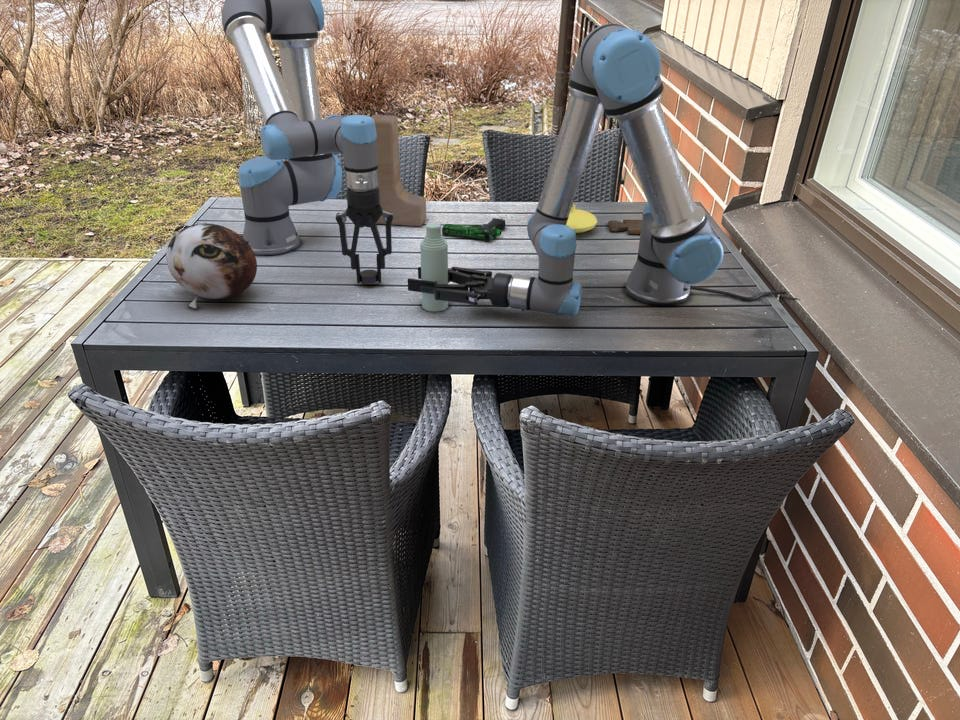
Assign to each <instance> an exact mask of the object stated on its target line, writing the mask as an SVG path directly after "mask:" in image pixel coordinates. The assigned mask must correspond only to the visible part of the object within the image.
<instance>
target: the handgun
mask: <svg viewBox="0 0 960 720" xmlns="http://www.w3.org/2000/svg"><path fill="white" fill-rule="evenodd" d="M505 228H506V220H505V219H503V218H497V217H492V219H491V220H490V221H489V222H488V223H483V224H482V225H479V224H472V225H459V224H453V223H445V224H443V226H441V235H446V236H454V237H462V238H469V239H470V238H471V239H474V240H479V241H484V242H491V241H492V240H494V239H495V238H497V237H500V236H502V230H504V229H505Z"/></svg>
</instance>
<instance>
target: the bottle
mask: <svg viewBox="0 0 960 720" xmlns="http://www.w3.org/2000/svg"><path fill="white" fill-rule="evenodd" d="M425 232H426V233H425V236H424V237H423V239H422V240H421V242H420V245H419V248H420V249H419V252H420V267H421V279H420V280H425V281H432V282H435V281H437V284H449V283H448V269H449V254H448V253H449V252H448V248H449V246H448V242H447V240H446V239H445V238H444V237H443V234H442V224H441V223H439V222H428V223H427V224H425ZM421 307H422V308H423V309H424V310H425V311H428V312H442V311H445V310H447V309H448V308H449V301H441V300H435V295H434V294H429V293H422V292H421Z"/></svg>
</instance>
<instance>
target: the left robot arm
mask: <svg viewBox="0 0 960 720" xmlns="http://www.w3.org/2000/svg"><path fill="white" fill-rule="evenodd" d="M221 9H222V10H221V25H222V29H223V33H224V35H225V38H226V40H227V42H228V43H229V45H231V46H233V47H234V49H235V51H236V54H237V56H238V59H239V61H240V64H241V67H242V70H243V72H244V75H245V78H246V79H247V82H248V85H249V87H250V89H251V92H252V94H253V97H254V100H255V102H256V105H257V107H258V110H259V112H260V114H261V115H260V116H261V118H262V121H263V123H264V125H263V126H262V127H261V128H260V131H259V136H260V137H259V138H260V143H261V146H262V151H263V154H264V155H262V156H258V157H253V158H251V159H248V160H245V161H244V162H243V163H241V165H240V166H239V167H238V170H237V174H238V186H239V190H240V196H241V201H242V208H243V212H244V213H243V215H244V219H245V220H244V226H243V228H244V229H243V234H242V235H241V234H239V235H240V236H241V237H243V238H244V239H245V240H246V241H249V242H248V244H249V245H250V247H251V248H252V250H253V252H254V254H255V256H256V255H257V256H275V255H281V254H282V255H283V254H285V253H289V252H291V251H293V250H296V249H297V248H298V247H299V246H300V244H301V241H300V235H299V233H298V231H297V229H296V227H295V225H294V223H293V220H292V218H291V216H290V206H296V205H303V204H309V203H316V202H325V201H326V200H333V199H335V198H336V197H338V196H339V194H340V192H341V190H342V186H343V169H344V179H345V181H344V182H345V187H346V190H345V192H346V204H347V205H346V206H347V207H346V208H345V211H343V212H337V213H336V215H335V221H336V223H337V225H338V228H339V238H340V247H341V254H342V256H343V257H345V256H347V257H349V258H350V268H351V270H352V271H354V270H355V272H356V273H355V274H356V284H361V282H360V272H361V266H360V265H361V262H360V254H359V253H357V247H358V240H359V234H360V229H361V228H370V231H371V233H372V236H373V240H374V243H375V246H376V249H377V252H378V253H376V259H375V260H376V271H377V274H378V282H377V283H378V284H381V283H382V270H384V269H386V256H389V255H392V252H393V244H392V243H393V242H392V225H391V223H392V220H393V212H386V211H383V209H382V207H381V205H380V193H379V188H378V187H377V186H378V185H379V175H378V162H377V141H376V138H377V133H376V129H375V121H374V120H373V118H371V116H369V115H365V114H349V115H346V116H344V115H341V114H330V115H328V116H326V117H325V118H324V119H323V116H322V115H323V114H322V107H321V106H322V105H321V98H320V91H319V83H318V74H317V67H316V65H317V64H316V58H315V49H314V47H315V45H316V43H317V42H318V40H319V32H321V31H322V30H323V29H324V27H325V20H326V19H325V10H324V6H323V3H322V0H224V2H223V4H222V8H221ZM267 34H270V36H269V37H270V41H271V42H272V43H273V45H275V46H276V47H277V48H278V53H279V60H280V68H281V71H280V68H279V66H278V63H277V62H276V58H275V56H274V54H273V51H272V49H271V47H270V43H269V41H268V40H267V39H268V38H267ZM337 153H340V154H342V157H343V158H342V159H343V169H342V166H341V161H340V159H339V157H338V156H337V155H335V154H337ZM381 216H383V220H384V221H385V222H386V224H385V242H386V243H385V245H386V247H384V245H383V241H382V239H381V235H380V231H379V228H378V224H376V223H377V221H378V220H379V218H380V217H381ZM347 218H348V219H349V220H350V221H351V222H352V224H353V225H354V228H353V234H352V240H351V247H350V248H348V247H349V245H348V237H347V227H346V222H347ZM184 226H185V227H184ZM188 226H189V225H186V224H185V225H180V226H178V227H176V228H175V229H174V230H173V232H174V233H178V232H179V231H180V230H182V228H183V227H184V228H186V227H188ZM184 228H183V229H184Z"/></svg>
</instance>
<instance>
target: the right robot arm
mask: <svg viewBox="0 0 960 720" xmlns="http://www.w3.org/2000/svg"><path fill="white" fill-rule="evenodd" d="M661 73H662V59H661V55H660V52H659V50H658V48H657V46H656V45H655V44H654V42H653V41H652V40H651V39H650V38H649V37H648V36H647V35H645V34H644V33H642V32H640V31H638V30H636V29H630V28H628V27H626V26H623V25H622V24H618V23H605V24H601V25H599V26H596V27H595V28H593V29H592V30H591V31H589V33H588V34H587V35H586V36H585V37H584V39H583V40H582V42H581V45H580V46H579V49H578V52H577V54H576V58H575V62H574V65H573V68H572V71H571V75H570V78H569V82H568V86H567V88H568V90H569V91H570V95H569V98H568V103H567V105H566V109H565V112H564V116H563V119H562V123H561V125H560V129H559V132H558V136H557V139H556V143H555V146H554V149H553V153H552V156H551V160H550V163H549V165H548V169H547V173H546V176H545V180H544V182H543V186H542V189H541V193H540V196H539V199H538V202H537V206H536V209H535V212H534V213H533V214H531V215H530V217H529V218H528V220H527V223H526V231H527V236H528V239H529V240H530V242H531V244H532V246H533V248H534V250H535V252H536V254H537V257H538V272H537V277H535V276H529V275H520V274H515V275H514V276H513V275H512V274H511V273H505V272H503V273H502V272H497V273H495V275H494V276H493V271H492V270H480V269H479V270H478V269H471V268H466V267H459V266H452V267H450V268H448V284H437V281H435V282H432V281H425V280H421V266H418V268H417V278H407V291H408V292H416V293H421V294H422V293H429V294H434V295H435V300H441V301H448V302H449V303H450V302H451V303H461V304H468V305H472V306H478V302H479V300H489V301H490V303H491V306H493V307H498V308H505V309H507V308H509V307H510V309H512V310H513V309H514V310H519V311H521V312H525V311H529V312H534V313H535V312H536V313H543V314H549V315H555V316H557V317H558V316H564V317H574V316H577V314H578V313H579V310H580V306H581V302H582V301H581V300H582V294H583V293H582V292H583V291H582V289H583V287H582V286H583V285H582V284H581V283H579V282H577V281H574V269H575V268H574V267H575V257H576V250H577V233H575V231H574V229H573V228H570V227H568V226H566V224H567V221H568V218H569V214H570V211H571V208H572V205H574V202H575V199H576V195H577V193H578V190H579V186H580V183H581V180H582V178H583V174H584V171H585V169H586V165H587V162H588V159H589V156H590V153H591V151H592V148H593V144H594V142H595V138H596V135H597V132H598V130H599V126H600V123H601V120H602V117H603V114H604V113H605V116H606V117H608V118H611V119H613V120H616V122H617V125H618V128H619V130H620V133H621V135H622V139H623V140H624V143H625V146H626V148H627V151H628V154H629V156H630V157H629V158H630V160H631V162H632V165H633V167H634V170H635V173H636V175H637V178H638V181H639V183H640V186H641V189H642V191H643V194H644V196H645V199H646V203H644V208H643V212H642V213H641V215H642V219H641V220H642V226H641V234H639V243H638V249H637V258H636V260H635V263H634V265H633V267H632V268H631V271H630V273H629V275H628V277H627V279H626V281H625V282H626V283H625V292H626V294H627V295H628V296H629V297H631V298H632V299H633V300H636V301H638V302H641V303H643V304H648V305H654V306H676V305H680V304H682V303H684V302H685V303H686V301H687V300H688V299H689V298H690V296H691V295H690V293H691V290H693V291H694V290H695V291H700V292H707V293H711V294H712V293H713V294H717V295H724V296H728V297H729V296H730V297H731V298H734V299H735V298H736V299H738V300H743V301H755V300H758V299H759V298H761V297H763V296H773V295H787V296H789V295H788V294H786V291H787V290H773V291H762V292H759V293H758V294H757V295H754V296H745V295H739V294H736V293H732V292H728V291H723V290H719V289H712V288H706V287H700V286H694V285H692V284H699V283H702V282H704V281H706V280H707V279H709V278H711V277H712V276H713V275H714V274H715V273H716V272H717V271H718V269H719V268H720V265H722V263H723V260H724V253H725V251H724V247H723V245H722V243H721V241H720V239H719V238H718V237H717V236H715V235H714V233H713V231H712V228H711V225H710V221H709V219H708V216H707V214H706V210H705V209H704V208H703V207H702V206H700V205H697V203H696V202H695V201H694V199H693V196H692V193H691V190H690V187H689V184H688V182H687V178H686V176H685V172H684V169H683V166H682V164H681V161H680V158H679V155H678V151H677V149H676V146H675V143H674V140H673V137H672V134H671V131H670V129H669V126H668V123H667V120H666V117H665V114H664V111H663V107H662V105H661V102H660V100H661V98H662V96H663V93H664V91H665V87H664V84H663V82H662V78H661Z"/></svg>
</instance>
